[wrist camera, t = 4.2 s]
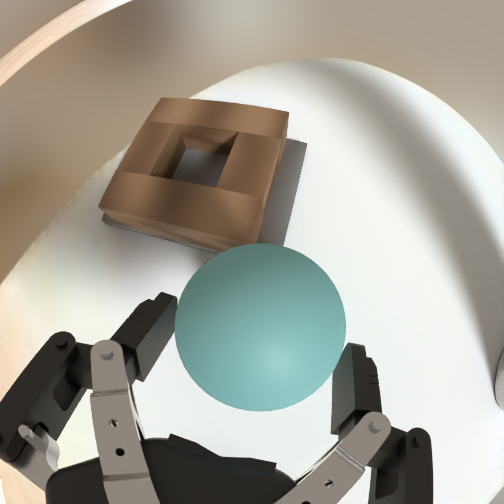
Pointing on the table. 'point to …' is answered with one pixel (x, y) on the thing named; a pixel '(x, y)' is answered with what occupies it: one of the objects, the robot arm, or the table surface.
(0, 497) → the white toy figurine
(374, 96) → the table surface
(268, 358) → the peg
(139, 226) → the socket
